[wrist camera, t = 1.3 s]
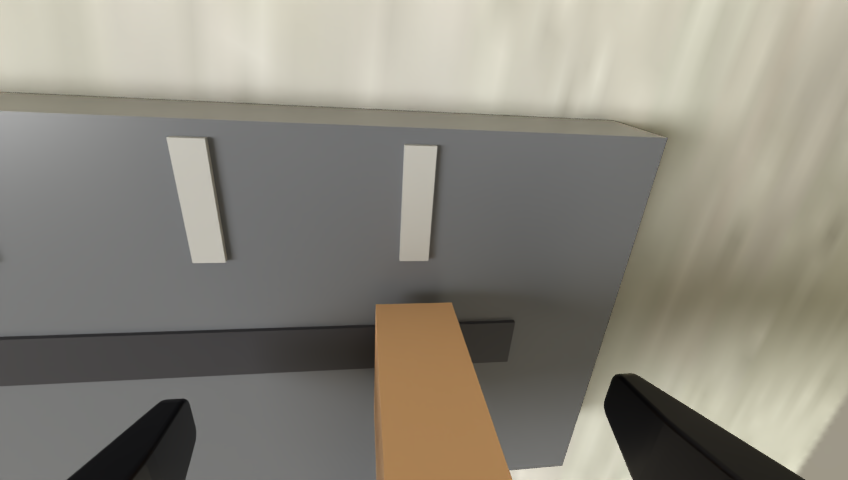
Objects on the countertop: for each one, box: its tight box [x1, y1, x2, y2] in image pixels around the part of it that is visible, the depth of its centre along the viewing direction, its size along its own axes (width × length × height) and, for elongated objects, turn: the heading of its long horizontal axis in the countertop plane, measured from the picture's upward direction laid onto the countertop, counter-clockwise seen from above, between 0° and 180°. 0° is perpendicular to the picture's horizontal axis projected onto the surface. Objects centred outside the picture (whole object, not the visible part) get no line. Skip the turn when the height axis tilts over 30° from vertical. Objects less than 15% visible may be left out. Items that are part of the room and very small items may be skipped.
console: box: [0, 92, 667, 480], centre depth 9 cm, size 10×22×2 cm, turn 86°
